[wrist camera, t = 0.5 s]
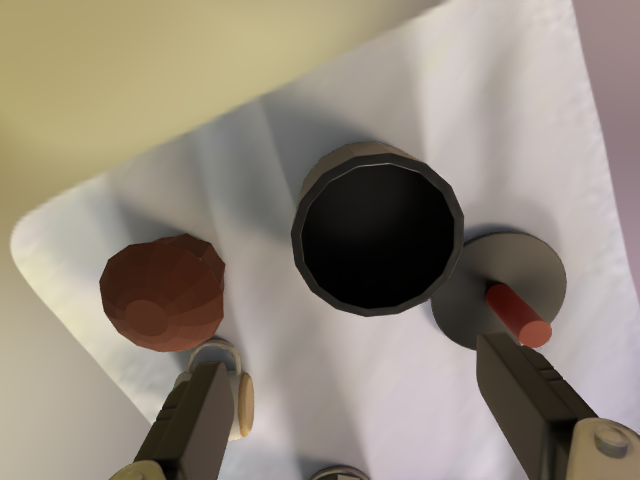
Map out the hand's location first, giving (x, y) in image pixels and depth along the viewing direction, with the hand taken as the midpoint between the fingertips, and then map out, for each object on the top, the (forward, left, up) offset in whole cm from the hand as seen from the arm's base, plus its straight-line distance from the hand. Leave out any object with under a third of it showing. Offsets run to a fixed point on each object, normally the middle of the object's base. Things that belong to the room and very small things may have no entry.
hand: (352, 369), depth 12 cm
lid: (-14, -17, -28) cm, 36 cm away
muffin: (-8, +17, -29) cm, 34 cm away
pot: (-3, -3, -29) cm, 29 cm away
